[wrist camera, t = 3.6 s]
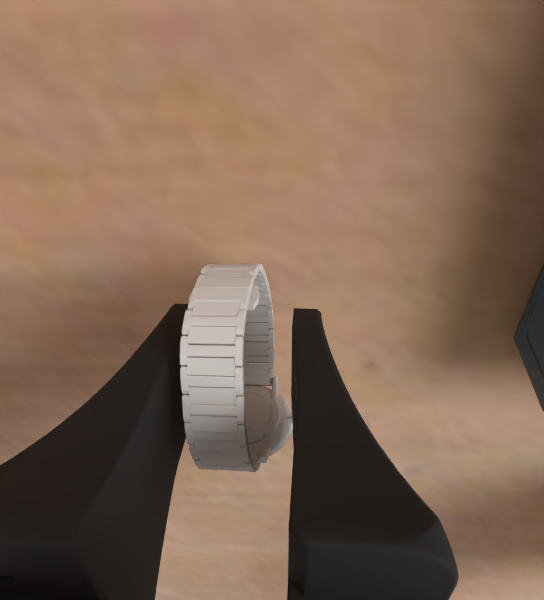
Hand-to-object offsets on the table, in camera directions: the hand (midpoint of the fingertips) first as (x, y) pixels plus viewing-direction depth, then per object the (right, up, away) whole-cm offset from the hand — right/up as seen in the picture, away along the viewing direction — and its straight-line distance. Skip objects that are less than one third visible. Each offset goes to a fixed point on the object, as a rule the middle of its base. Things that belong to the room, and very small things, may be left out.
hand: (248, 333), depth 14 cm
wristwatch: (0, +1, +1) cm, 2 cm away
